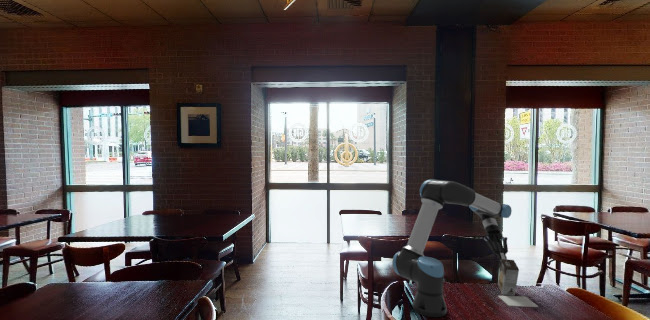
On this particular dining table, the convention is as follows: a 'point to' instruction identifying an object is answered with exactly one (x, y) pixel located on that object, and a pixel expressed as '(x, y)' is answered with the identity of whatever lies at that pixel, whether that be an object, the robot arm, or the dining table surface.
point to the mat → (517, 301)
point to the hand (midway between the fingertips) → (505, 265)
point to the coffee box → (508, 277)
